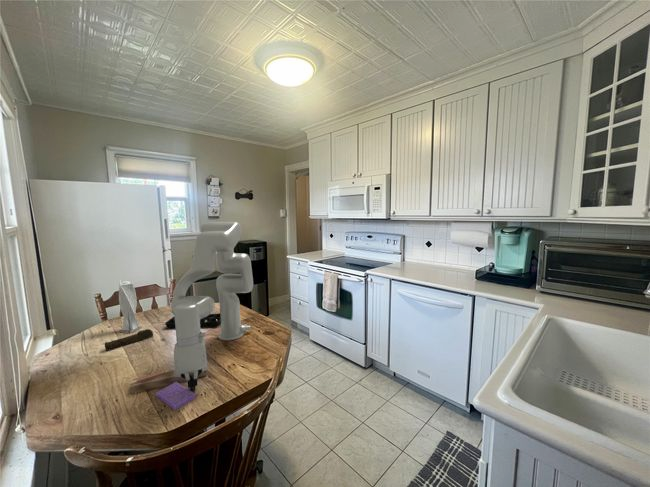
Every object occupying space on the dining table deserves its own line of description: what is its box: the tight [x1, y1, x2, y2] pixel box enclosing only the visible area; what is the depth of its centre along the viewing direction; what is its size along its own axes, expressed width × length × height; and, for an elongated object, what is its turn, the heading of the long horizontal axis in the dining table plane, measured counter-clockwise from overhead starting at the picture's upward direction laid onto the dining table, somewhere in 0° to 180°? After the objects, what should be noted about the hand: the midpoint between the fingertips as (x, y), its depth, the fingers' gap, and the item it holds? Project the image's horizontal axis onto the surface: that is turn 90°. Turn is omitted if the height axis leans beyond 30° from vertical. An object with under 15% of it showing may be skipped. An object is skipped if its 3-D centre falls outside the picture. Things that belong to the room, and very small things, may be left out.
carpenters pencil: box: [131, 370, 167, 384], centre depth 97 cm, size 10×1×1 cm, turn 126°
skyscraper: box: [118, 278, 143, 334], centre depth 142 cm, size 8×8×28 cm
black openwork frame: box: [164, 313, 221, 330], centre depth 151 cm, size 18×30×4 cm, turn 105°
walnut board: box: [129, 369, 207, 395], centre depth 99 cm, size 24×5×3 cm, turn 114°
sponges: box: [155, 382, 196, 411], centre depth 91 cm, size 7×13×2 cm, turn 57°
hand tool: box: [104, 328, 154, 352], centre depth 129 cm, size 19×4×5 cm, turn 135°
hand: (192, 388), depth 94 cm, fingers closed
